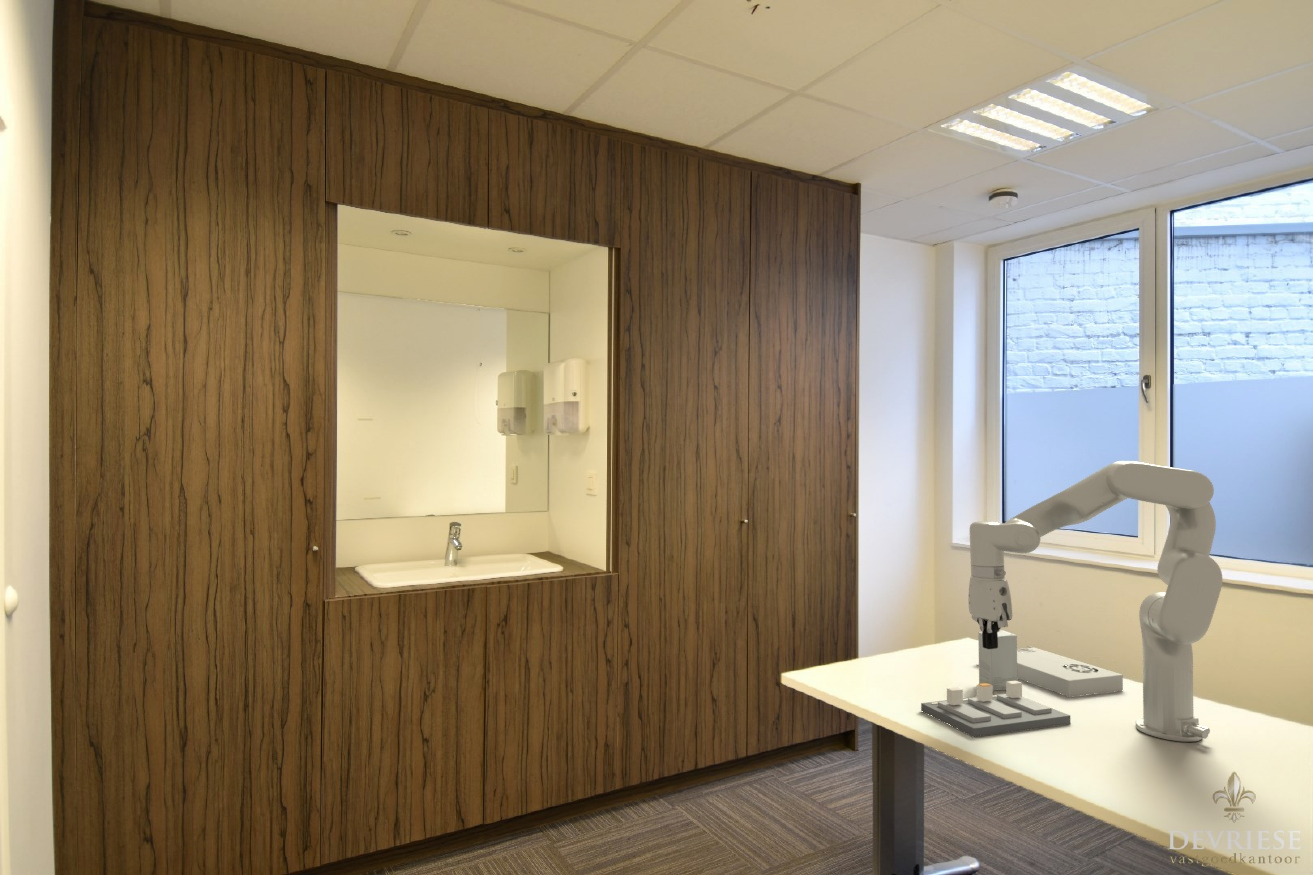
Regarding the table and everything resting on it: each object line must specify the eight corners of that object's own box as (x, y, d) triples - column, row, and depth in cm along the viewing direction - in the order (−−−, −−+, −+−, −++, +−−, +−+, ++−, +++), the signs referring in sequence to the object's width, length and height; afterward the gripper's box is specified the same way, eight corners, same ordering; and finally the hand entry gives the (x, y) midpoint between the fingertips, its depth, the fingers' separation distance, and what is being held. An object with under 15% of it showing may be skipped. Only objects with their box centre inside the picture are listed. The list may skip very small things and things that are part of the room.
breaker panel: (1070, 723, 176) (1070, 711, 176) (973, 737, 167) (973, 723, 167) (1011, 700, 193) (1011, 688, 193) (921, 711, 184) (921, 699, 184)
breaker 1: (962, 704, 180) (962, 689, 180) (952, 705, 179) (952, 690, 179) (956, 701, 182) (956, 686, 182) (946, 702, 181) (946, 688, 181)
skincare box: (1004, 683, 208) (1003, 629, 208) (1018, 689, 202) (1018, 634, 202) (977, 684, 206) (977, 630, 207) (991, 691, 200) (991, 635, 201)
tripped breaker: (992, 700, 183) (992, 684, 183) (982, 701, 182) (982, 686, 182) (986, 697, 184) (986, 682, 185) (976, 699, 184) (976, 683, 184)
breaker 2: (1022, 696, 185) (1021, 682, 186) (1012, 698, 184) (1012, 683, 185) (1015, 694, 187) (1015, 680, 187) (1006, 695, 186) (1006, 681, 186)
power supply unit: (1028, 661, 233) (1028, 645, 233) (1123, 693, 202) (1123, 674, 202) (978, 666, 227) (978, 649, 227) (1069, 699, 196) (1069, 680, 196)
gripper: (1023, 575, 177) (1026, 653, 176) (977, 567, 191) (980, 639, 191) (998, 577, 175) (1001, 656, 174) (953, 569, 189) (956, 642, 188)
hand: (990, 647), depth 182 cm, fingers closed
